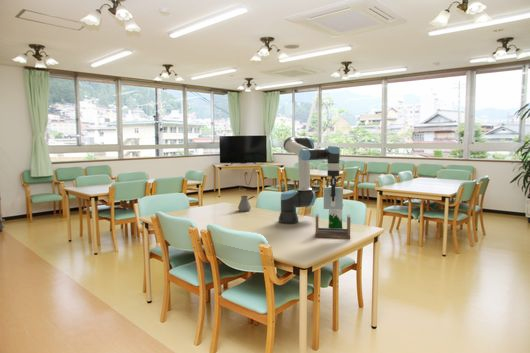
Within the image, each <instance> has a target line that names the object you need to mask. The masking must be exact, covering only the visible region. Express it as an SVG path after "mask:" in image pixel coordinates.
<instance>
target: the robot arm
mask: <svg viewBox="0 0 530 353" xmlns="http://www.w3.org/2000/svg"><path fill="white" fill-rule="evenodd" d="M283 149H284V150H285V152H288V153H293V154H295V155H296V157H297V158H298V159H297V160H298V161H297V162H298V163H297V164H298V165H297V166H298V188H297V191H296V190H293V189H292V190H284V191H282V192H281V194H280V213H279V216H278V222H279V223H281V224H284V225H285V224H287V225H291V224H292V225H294V224H297V223H299V216H298V213H297V208H309V207H312V206H314V204H315V202H316V198H317V197H316V193H315V191H313V188H312V187H311V169H310V168H311V166H310V163H311V161H323V160H324V161H325V160H327V164H326V167H327V171H326V172H327V173H326V174H327V176H328V177H331V178H329V181H330V187H331V195H330V196H331V206H335V187H337V178H336V177H339V176H340V166H341V165H340V156H341V154H340V153H341V151H340V146H339V145H327V147H322V148H315V142H314V140H313V138H312V137H311V136H307V135H306V136H305V135H301V136H289V137H287V138H286V139H285V140H284V141H283Z"/></svg>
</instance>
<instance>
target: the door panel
mask: <svg viewBox="0 0 530 353" xmlns="http://www.w3.org/2000/svg"><path fill="white" fill-rule="evenodd" d="M343 188H344V187H342V186H341V187H338V186H335V206H331V196H330V195H331V186H324V187H323V210H329V209H342V210H343V208H342V204H343V205H344V202H343V198H344V197H343V191H344V190H343Z"/></svg>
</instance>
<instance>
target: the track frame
mask: <svg viewBox="0 0 530 353" xmlns="http://www.w3.org/2000/svg"><path fill="white" fill-rule="evenodd" d="M319 219H320V218H319V213H315V234H314V235H315V238H318V239H322V238H323V239H345V240H347V239H349V240H350V239H351V214H347V215H346V219H347V220H346V228H342V229H338V228H329V227H319V222H320V220H319Z"/></svg>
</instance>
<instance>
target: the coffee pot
mask: <svg viewBox="0 0 530 353" xmlns="http://www.w3.org/2000/svg"><path fill="white" fill-rule="evenodd" d="M240 198H241V199H240V201H239V204H238V207H237V209H238V210H239V212H244V213H245V212H249V211H251V208H252V206H251V203H250V202H249V200H250V199H254V198H256V196H253V195H252V196H251V197H249V198H248V195H241V196H240Z"/></svg>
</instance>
